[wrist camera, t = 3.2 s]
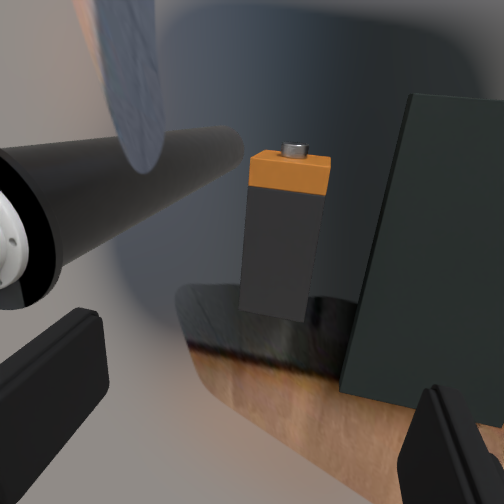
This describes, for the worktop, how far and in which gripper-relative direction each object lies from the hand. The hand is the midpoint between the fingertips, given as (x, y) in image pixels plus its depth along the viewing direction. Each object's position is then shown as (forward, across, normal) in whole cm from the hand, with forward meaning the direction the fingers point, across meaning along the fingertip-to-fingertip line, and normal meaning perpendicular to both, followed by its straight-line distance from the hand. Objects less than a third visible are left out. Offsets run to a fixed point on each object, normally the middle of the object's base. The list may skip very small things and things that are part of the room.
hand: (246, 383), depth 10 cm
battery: (+16, +1, 0) cm, 16 cm away
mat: (+16, -11, +2) cm, 20 cm away
